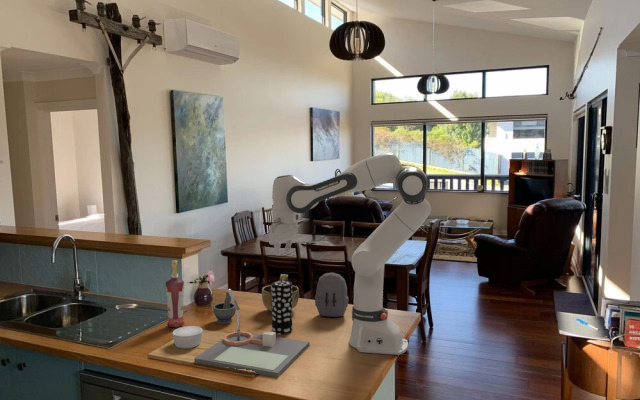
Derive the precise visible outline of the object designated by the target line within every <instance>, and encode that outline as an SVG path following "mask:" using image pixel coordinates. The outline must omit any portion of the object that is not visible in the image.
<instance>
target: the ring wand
mask: <svg viewBox="0 0 640 400" xmlns="http://www.w3.org/2000/svg"><path fill="white" fill-rule="evenodd" d="M240 331H241V332H240V335H243V336H248V337H250V338H249V339H248V340H244V341H236V342H235V341H229V340H228V338H230V337H233V336H237V332H234V331H233V332H229V333H227V334H225V335H224V336H223V339H224V343H226V344H227V345H233V346H239V345H245V344H249V343H257V344H263V346H270V347H273V346H274V345H275V344H276V337H277V334H276V332H272V331H270V330H269V331H268V330H265V331H264V332H263V333H262V335H263V340H260V339H254V338H253V334H251V333H252V332H248V331H243V330H240Z"/></svg>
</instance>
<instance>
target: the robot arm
mask: <svg viewBox="0 0 640 400" xmlns="http://www.w3.org/2000/svg"><path fill="white" fill-rule="evenodd" d="M386 184H392V185H395V186H396V188H397V191H398V194H400V196H401V198H402V201H401V202H400V203H399V205H398V206H397V207H396V208H395V209H394V210H393V211H392V212H391V213H390V214H389V215H388V216H387V217H386V218H385V219H384V220H383V221H382V222H381V223H380V224H379V225H378V227H376V228H375V229H374V230H373V231H372V233H371V234H370V235H369V236H368V237H367V238H366V239H364V241H363V242H361V244H360V245H359V246H358V247H357V248H356V249H355V250H354V252H353V253H352V256H351V267H352V270H353V271H354V272H355V274H354V283H353V306H352V309H351V320H352V327H351V332H350V336H349V337H350V338H349V341H348V343H349V345H350V346H351V347H353V348H354V349H356V350H357V351H358V352H359V353H367V354H368V353H369V354H382V355H383V354H384V355H395V356H398V355H402V354H404V353H405V352H407V351H408V349H409V342H408V340H407V339H406V338H403V333H402V330H401V327H400V326H398V325H397V324H396V323H395V322H393V320H391V319H390V318H389V316H388V314H389V309H388V308H385V307H383V305H384V304H383V302H384V297H383V296H384V291H383V290H384V278H385V264H386V263H387V262H388V261H389V260H390V259H391V258H392V257H393V255H395V254H396V252H397V251H398V250H399V249H400V248H401V247H402V246H403V245H404V244H405V243H406V242H407V241H408V240H409V239H410V238H411V237H412V236H413V235H414V234H415V233H416V232H417V231H418V230H419V228H421V226H422V225H423V224H424V223H425V221H426V220H427V219H428V217H429V216H430V214H431V211H432V207H431V205H430V202H429V201H428V200H427V199H426V198H425V197H426V195H427V194H426V193H427V190H428V178H427V175H426V173H425V172H424V170H422V169H421V168H419V167H418V166H416V165H411V164H404V163H403V164H402V162H401V161H400V159H399V158H398V156H397V155H395V154H394V153H393V152H385V153H381V154H375V155H374V156H369V157H367V158H364V159H362V160H359V161H358V162H355V163H353V164H352V165H351V166H349V167H348V168H346V169H344V171H342V172H341V173H339V174H337V175H335V176H334V177H331V178H328V179H326V180H322V181H321V182H320V181H319V182H317V183H315V184H310V183H307V182H304V181H302V180H300V179H299V178H297V177H296V176H294V174H285V175H279V176H277V177H275V179H274V180H273V184H272V194H271V195H272V197H271V198H272V208H271V222H272V223H271V224H270V226H269V233H268V243H269V245H270V246H271V245H272V246H273V248H274V250H275V256H281V255H282V249H281V247H282V245H281V244H284V243H285V245H284V246H285V247H284V250H285V252H290V251H291V249H292V247H291V246H292V242H293V239H295V238H297V235H298V231H299V230H298V228H299V219H300V215H299V214H305V213H307V212H308V211H310V210H311V209H314V208H315V207H316V206H317V205H318V204H319V203H320V202H322V201H324V200H327V199H330V198H332V197H335V196H338V195H340V194H346V193H356V192H363V191H367V190H371V189H374V188H375V189H376V188H378V187H380V186H382V185H386Z"/></svg>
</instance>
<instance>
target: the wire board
mask: <svg viewBox="0 0 640 400" xmlns="http://www.w3.org/2000/svg"><path fill="white" fill-rule="evenodd" d="M241 331H242V330H240V332H241ZM233 332H237V330H235V331H233ZM250 333H251V334H253V338H254V339H260V340H263V334H261V333H254V332H250ZM249 338H250V337H248V336H243V335H240V340H239V341H244V340H248V339H249ZM228 340H229V341H235V342H236V341H238V340H237V336H233V337H230V338H228ZM310 345H311V344H310V341H307V340H301V339H294V338H288V337H281V336H276V344H275V345H274V346H273V347H270V346H263V344H257V343H249V344H245V345H239V346H233V345H227V344H226V343H224V338H222V339H220V341H218V342H216V343H215V344H214V345H212V346H210V347H209V348H207V349H206V350H204V351H203V352H202V353H200V354H199V355H197V356H196V357H194V363H195V364H196V363H197V364H201V365H209V366H212V365H213V366H214V367H218V366H219V367H218V368H223V367H229V368H236V369H246V370H252V371H255V372H256V373H255V374H256V375H262V376H269V377H274V378H279V377H280V376H281V375H283V373H284V372H285V371H286V370H287V369H288V368H289V367H290V366H291V365H292V364H293V363H294V362H295V361H296V360H297V359H298V358H299V357H300V356H301V355H302V354H303V353H304V352H305V351H306V350H307V349H308V347H310ZM213 366H212V367H213ZM229 368H228V369H229Z"/></svg>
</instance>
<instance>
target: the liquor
mask: <svg viewBox="0 0 640 400" xmlns="http://www.w3.org/2000/svg"><path fill="white" fill-rule="evenodd" d="M178 265H179V263H178V260H177V259H173V260H170V267H171V272H170V273H171V274H170V279H168V280H166V282H165V291H166V293H165V294H166V303H167V304H166V305H167V326H168V327H169V328H172V329H178V328H181V327H183V325H184V324H185V321H184V299H185V298H184V297H185V295H184V294H185V292H184V291H185V290H184V289H185V287H184V286H185V282H184V280H183V279H181V278H179V273H178V271H179V270H178V267H179V266H178Z"/></svg>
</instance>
